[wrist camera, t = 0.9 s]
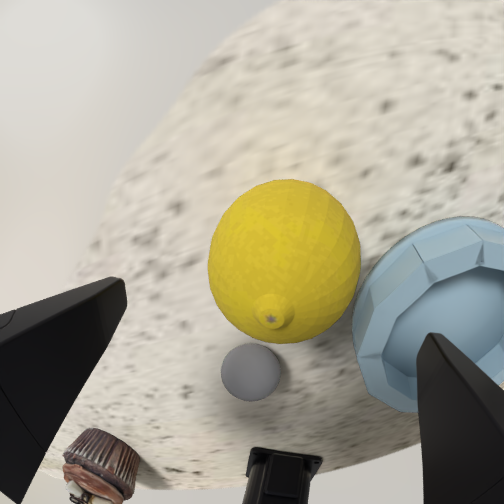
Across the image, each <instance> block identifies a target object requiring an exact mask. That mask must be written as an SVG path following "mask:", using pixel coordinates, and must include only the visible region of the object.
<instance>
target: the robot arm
mask: <svg viewBox="0 0 504 504" xmlns="http://www.w3.org/2000/svg"><path fill="white" fill-rule="evenodd" d="M126 308H127V296H126V289H125V282H124V280H123V279H121V278H117V277H108V278H105V279H102V280H99V281H96V282H93V283H90V284H87V285H84V286H81V287H78V288H75V289H72V290H69V291H66V292H64V293H61V294H58V295H55V296H52V297H49V298H46V299H43V300H40V301H38V302H35V303H32V304H29V305H27V306H23V307H21V308H18V309H17V310H12V311H9V312H6V313H3V314H0V491H1V492H2V493H3V494H4V495H6V496H7V497H8V498H10V499H11V500H12V501H14V502H15V503H16V504H21V502H22V500H23V498H24V496H25V494H26V492H27V490H28V488H29V486H30V484H31V482H32V479H33V478H34V476H35V474H36V472H37V470H38V468H39V466H40V464H41V462H42V460H43V458H44V456H45V454H46V453H45V452H47V450H48V448H49V446H50V445H51V443H52V441H53V439H54V437H55V435H56V433H57V432H58V430H59V428H60V426H61V424H62V423H63V421H64V419H65V417H66V415H67V414H68V412H69V410H70V408H71V407H72V405H73V403H74V401H75V400H76V398H77V396H78V395H79V393H80V391H81V390H82V388H83V386H84V384H85V383H86V381H87V379H88V378H89V376H90V374H91V373H92V371H93V369H94V368H95V366H96V365H97V363H98V361H99V360H100V358H101V356H102V355H103V353H104V352H105V350H106V348H107V346H108V344H109V343H110V341H111V339H112V337H113V334H114V332H115V330H116V328H117V326H118V324H119V322H120V320H121V318H122V316H123V314H124V312H125V310H126ZM416 371H417V405H418V416H419V425H420V436H421V448H422V462H423V492H424V493H423V494H424V504H504V390H503V389H502V388H501V387H499V386H498V385H497V384H496V383H495V382H494V381H493V380H492V379H491V378H490V377H489V376H488V375H487V374H486V373H485V372H484V371H482V370H481V369H480V368H479V367H478V366H477V365H476V364H475V363H474V362H473V361H472V360H471V359H469V358H468V357H467V356H466V355H465V354H464V353H463V352H462V351H461V350H460V349H458V348H457V347H456V346H455V345H454V344H453V343H452V342H451V341H449V340H448V339H447V338H446V337H445V336H444V335H443V334H441V333H434V332H430V333H428V334H427V335H426V337H425V339H424V341H423V343H422V345H421V347H420V349H419V351H418V354H417V357H416ZM321 464H322V458H321V457H316V456H307V455H299V454H292V453H285V452H278V451H272V450H266V449H261V448H251V451H250V456H249V461H248V466H247V471H246V477H248V478H249V479H248V483H247V487H246V491H245V495H244V499H243V503H242V504H308V497H309V487H310V481H311V480H312V478H313V477H314V475H315V474H316V472H317V470H318V469H319V467H320V466H321Z"/></svg>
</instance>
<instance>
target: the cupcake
mask: <svg viewBox="0 0 504 504" xmlns="http://www.w3.org/2000/svg"><path fill="white" fill-rule="evenodd" d="M63 454H64V455H63V456H64V458H65V461H66V463H65V464H64V465H63V472H64V479H65V481H66V482H67V484H66V490H67V491H68V492H70V496H71V497H70V500H71V501H72V502H73V503H75V504H122V503H123V501H124V500H128V499H130V498H131V497H132V495H133V494H134V490H135V481H136V475H137V471H138V467H139V463H140V458H139V456H138V454H137V453H136V452H135V451H134V450H133V449H132V448H131V447H130V446H128V445H127V444H126V443H125V442H123V441H122V440H120V439H118V438H116V437H115V436H113V435H111V434H109V433H107V432H105V431H102V430H100V429H96V428H89V429H86V430H85V431H84V432H83V433H82V434H81V435H80V436H79V437H78V438H77V439H76V440H75V441H74V442H73V443H72V444H71V445H70V446H69V447H68V448H67V449H66V450H65V451H64V453H63Z"/></svg>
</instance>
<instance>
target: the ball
mask: <svg viewBox="0 0 504 504" xmlns="http://www.w3.org/2000/svg"><path fill="white" fill-rule="evenodd" d="M280 375H281V370H280V365H279V362H278V360H277V358H276V356H275V355H274V354H273V353H272V352H271V351H270V350H269V349H267V348H266V347H264V346H261V345H258V344H244V345H240V346H238V347H236V348H234V349H233V350H232V351H230V352H229V353H228V355H227V356H226V357H225V359H224V361H223V364H222V367H221V378H222V381H223V384H224V386H225V388H226V389H227V390H228V391H229V393H230V394H232V395H233V396H235V397H236V398H238V399H241V400H244V401H258V400H261V399H264V398H266V397H267V396H269V395H270V394H271V393H272V392H273V391H274V390H275V389H276V387H277V385H278V383H279V380H280Z"/></svg>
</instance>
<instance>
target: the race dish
mask: <svg viewBox="0 0 504 504" xmlns="http://www.w3.org/2000/svg"><path fill="white" fill-rule="evenodd" d="M430 332H434V333H441V334H443V335H444V336H445V337H446V338H447V339H448V340H449V341H451V342H452V343H453V344H454V345H455V346H456V347H457V348H458V349H460V350H461V351H462V352H463V353H464V354H465V355H466V356H467V357H468V358H469V359H471V360H472V361H473V362H474V363H475V364H476V365H477V366H478V367H479V368H480V369H481V370H482V371H484V372H485V373H486V374H487V375H488V376H489V377H490V378H491V379H492V380H493V381H494V382H495V383H496V384H497V385H500V384H501V383H502V382H503V381H504V228H503V227H501V226H500V225H498V224H496V223H495V222H492V221H489V220H487V219H483V218H478V217H469V216H459V217H452V218H446V219H442V220H439V221H435V222H432V223H430V224H428V225H425V226H423V227H421V228H419V229H417V230H415V231H414V232H412V233H410V234H408V235H407V236H405V237H404V238H403V239H401V240H400V241H399V242H397V243H396V244H395V245H394V246H393V247H391V248H390V249H389V250H388V251H387V252H386V253H385V254H384V255H383V256H382V257H381V258H380V260H379V261H378V262H377V263H376V264H375V265H374V267H373V268H372V270H371V271H370V272H369V274H368V275H367V277H366V279H365V280H364V282H363V284H362V286H361V288H360V290H359V293H358V296H357V298H356V301H355V305H354V309H353V315H352V333H353V344H354V348H355V352H356V356H357V360H358V363H359V366H360V369H361V372H362V375H363V378H364V381H365V384H366V387H367V391H368V393H369V394H370V395H372V396H373V397H375V398H377V399H378V400H380V401H382V402H384V403H385V404H387V405H389V406H390V407H392V408H394V409H396V410H397V411H399V412H415V413H418V405H417V371H416V357H417V354H418V351H419V349H420V347H421V345H422V343H423V341H424V339H425V337H426V335H427V334H428V333H430Z"/></svg>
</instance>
